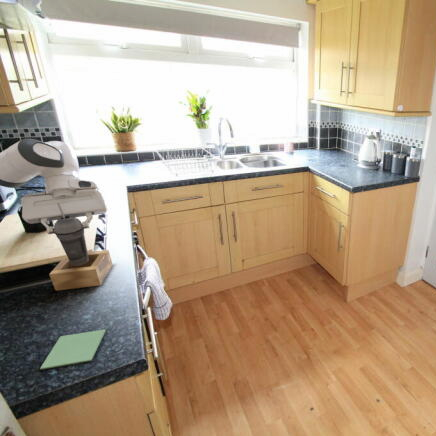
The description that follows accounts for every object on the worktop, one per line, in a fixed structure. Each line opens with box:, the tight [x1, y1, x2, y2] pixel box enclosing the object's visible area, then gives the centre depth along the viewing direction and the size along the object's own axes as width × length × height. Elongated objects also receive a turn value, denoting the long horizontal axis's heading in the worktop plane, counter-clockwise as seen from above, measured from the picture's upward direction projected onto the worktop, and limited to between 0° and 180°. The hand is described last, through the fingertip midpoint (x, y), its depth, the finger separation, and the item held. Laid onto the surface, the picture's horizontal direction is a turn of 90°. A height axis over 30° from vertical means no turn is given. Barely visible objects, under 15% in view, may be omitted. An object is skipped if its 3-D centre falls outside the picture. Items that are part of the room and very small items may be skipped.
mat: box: [39, 328, 107, 371], centre depth 77 cm, size 10×10×1 cm
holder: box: [48, 249, 114, 292], centre depth 102 cm, size 12×12×6 cm
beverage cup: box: [53, 203, 89, 266], centre depth 97 cm, size 7×7×20 cm
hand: (69, 230), depth 96 cm, fingers closed on beverage cup, 7 cm apart
